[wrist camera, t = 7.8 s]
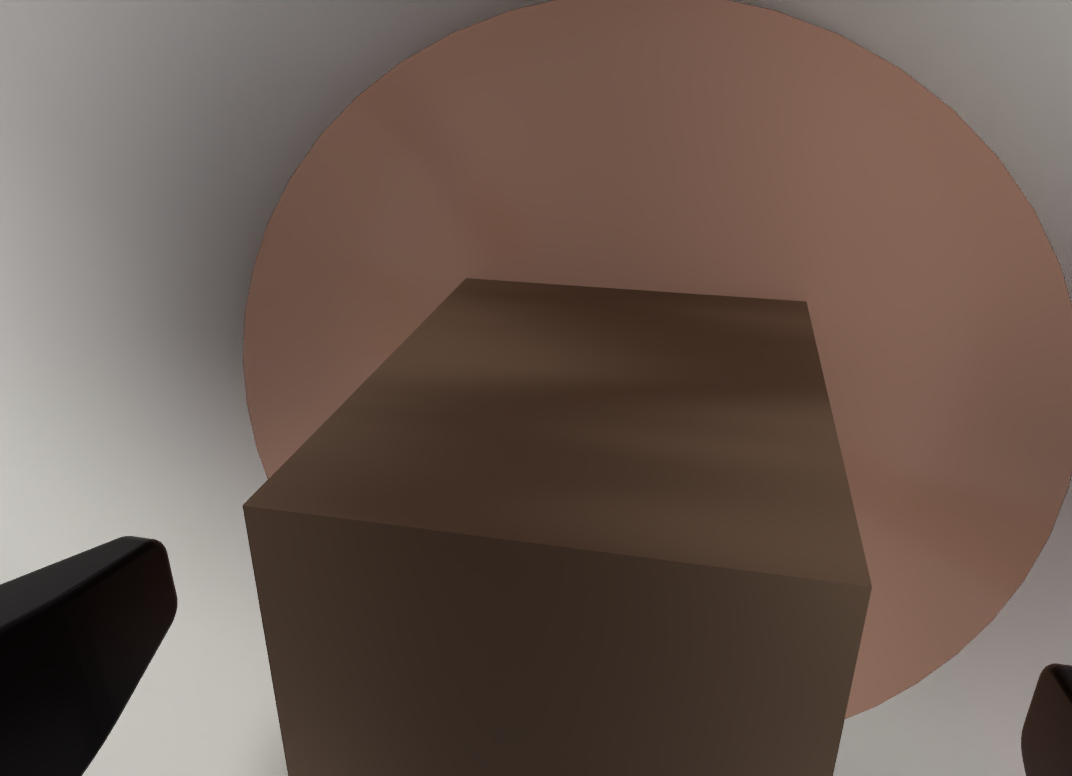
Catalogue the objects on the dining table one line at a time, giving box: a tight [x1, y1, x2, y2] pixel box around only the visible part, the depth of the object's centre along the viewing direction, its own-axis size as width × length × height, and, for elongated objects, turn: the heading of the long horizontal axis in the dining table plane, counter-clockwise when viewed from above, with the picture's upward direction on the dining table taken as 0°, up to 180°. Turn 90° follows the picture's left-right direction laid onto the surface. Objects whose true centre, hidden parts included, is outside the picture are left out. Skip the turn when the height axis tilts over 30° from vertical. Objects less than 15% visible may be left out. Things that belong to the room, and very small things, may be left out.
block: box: [243, 278, 872, 776], centre depth 10 cm, size 5×5×6 cm
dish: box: [243, 0, 1072, 719], centre depth 13 cm, size 12×12×1 cm
